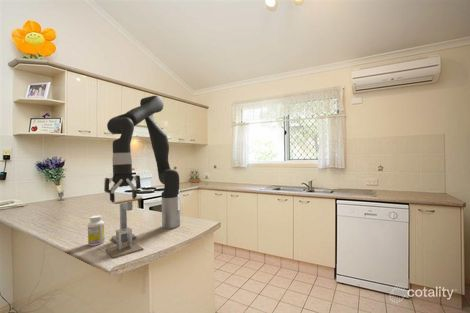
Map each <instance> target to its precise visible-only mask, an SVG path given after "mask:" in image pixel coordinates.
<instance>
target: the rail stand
mask: <svg viewBox="0 0 470 313" xmlns="http://www.w3.org/2000/svg"><path fill="white" fill-rule="evenodd" d="M127 211H133V200H130V201H127V202H124V201H123V202H120V203H119V229H124V228H128V225H127V224H128V223H127V222H128V217H127ZM110 239H111V240H112V241H113V242H114V243H115V244H116V235H112V236H111V237H110ZM136 239H137V236H136V235H135V234H134V233H132V241H134V240H136ZM126 242H127V233H125V234H121V243H126Z"/></svg>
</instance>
